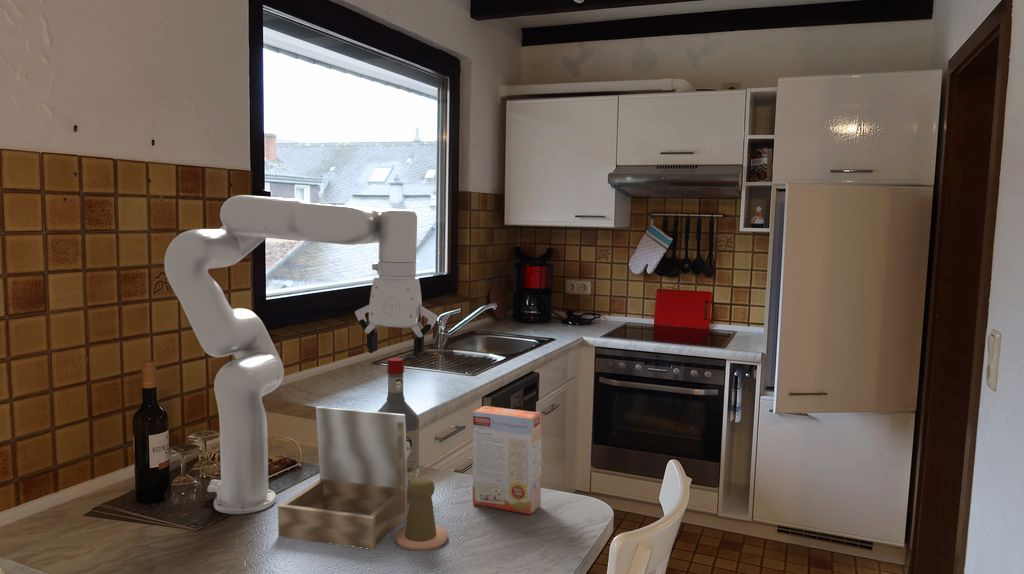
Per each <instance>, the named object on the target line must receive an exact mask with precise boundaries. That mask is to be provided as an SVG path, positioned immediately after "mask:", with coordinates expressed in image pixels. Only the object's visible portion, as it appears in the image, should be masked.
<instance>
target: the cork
mask: <svg viewBox="0 0 1024 574" xmlns="http://www.w3.org/2000/svg"><path fill="white" fill-rule="evenodd" d="M407 491H408V493H407V496H409V502H408V508H407V517H406V525H405V526H406V531H405V537H406V538H407V539H408V540H411V541H416V542H422V541H428V540H431V539H433V538H434V537H436V526H435V525H436V520H435V513H434V505H433V504H434V503H433V497H432V496H433V495H434V493H435V483H434V481H433V480H432V479H431V478H428V477H422V476H421V477H420V476H419V477H418V478H414V479H412V480H410V482H409V483H408V486H407Z"/></svg>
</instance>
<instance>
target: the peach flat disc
mask: <svg viewBox="0 0 1024 574" xmlns="http://www.w3.org/2000/svg"><path fill="white" fill-rule="evenodd" d="M435 526H436V537H434V538H433V539H431V540H428V541H422V542H416V541H411V540H408V539H407V538H406V537H405V531H406V525H405V526H404V527H402V528H399V529H398V530H397V531H396V533H395V543H396V545H397V546H398V547H400V548H401V549H404V550H408V551H414V552H417V551H418V552H422V551H423V552H425V551H431V550H435V549H438V548H440V547H442V546H444V545H445V544H446V543H447V542H448V540H449V536H448V535H449V533H448V530H447V529H446V528H445V527H444V526H442V525H438V524H435Z"/></svg>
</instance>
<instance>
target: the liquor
mask: <svg viewBox="0 0 1024 574" xmlns="http://www.w3.org/2000/svg"><path fill="white" fill-rule="evenodd" d="M386 362H387V365H386V366H387V367H386V368H387V370H386V371H387V397H386V402H384V404H383V405H382V406H381V407H380V408H379V409H378V410H377V412H384V413H395V414H405V424H406V450H407V476H408V483H409V482H410V480H412V479H414V478H418V477H420V419H419V417H418V414H417V413H416V412H415V410H413V409H412V407H411V406H410V405H409V404H408V403H407V401H405V399H406V398H405V395H404V373H405V361H404V358H402V357H390V358H388V359H387V360H386ZM407 494H408V491H407Z"/></svg>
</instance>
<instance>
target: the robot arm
mask: <svg viewBox="0 0 1024 574" xmlns="http://www.w3.org/2000/svg"><path fill="white" fill-rule="evenodd" d="M219 218H220V221H221V223H222V226H221V227H219V228H195V229H190V230H186V231H184V232H180V234H178V235H177V236H175V238H173V239H172V241H171V242H170V243H169V245H168V247H167V249H166V251H165V255H164V261H163V262H164V263H163V264H164V266H163V267H164V272H165V276H166V279H167V281H168V283H169V285H170V287H171V289H172V290H173V293H174V294H175V296H176V298H177V300H178V301H179V302H180V305H181V306H182V309H183V311H184V313H185V315H186V318H187V319H188V322H189V323H190V326H191V328H192V330H193V332H194V334H195V336H196V338H197V340H198V343H199V344H200V346H201V349H203V352H205V353H206V354H207V355H209V356H211V357H213V358H223V357H227V356H231V355H233V356H234V358H235V359H232V360H231V361H229V362H227V363H226V364H223V366H222V367H221V368H220V369H219V370H218V371H217V373H216V375H215V377H214V381H213V391H214V395H215V399H216V401H215V402H216V404H217V409H218V419H219V423H218V424H219V443H220V444H219V447H220V448H219V450H220V451H219V452H220V479H211V480H210V482H209V485H208V486H207V489H206V491H207V492H209V493H216V498H215V499H214V501H213V507H214V510H215V511H217V512H219V513H223V514H226V513H227V514H228V515H246V514H251V513H256V512H259V511H260V512H261V511H263V510H266V509H268V508H269V507H271V506H273V505H274V504H275V503H276V501H277V494H276V492H275V491H273V490H271V489H269V455H268V454H269V453H268V451H269V449H268V421H267V414H266V410H265V407H264V404H263V398H262V397H264V396H266V395H267V394H270V393H271V392H273V391H275V390H276V389H277V388H279V387H280V386H281V384H282V382H283V380H284V376H285V371H284V369H285V367H284V365H283V362H282V359H281V357H280V355H279V352H278V351H277V349H276V347H275V343H273V340H272V339H271V336H270V334H269V332H268V330H267V328H266V326H265V324H264V322H263V320H261V318H260V317H259V316H258V315H257V314H256V313H255V312H253V311H252V310H250V309H248V308H243V307H236V308H232V307H231V305H230V303H229V302H228V300H227V298H226V296H225V293H224V291H223V290H222V288H221V286H220V285H219V284H218V283H217V281H215V279H214V278H213V277H212V275H210V273H209V270H210V269H219V268H226V267H230V266H233V265H235V264H237V263H238V262H240V261H241V260H242V259H244V258H245V257H246V256H247V255H249V254H250V253H251V252H252V251H253V250H254V249H256V248H257V247H258V246H259V245H260V244H262V243H263V242H264V241H265V240H266V239H277V240H278V239H279V240H288V241H295V242H296V241H297V242H301V241H304V242H314V243H322V244H323V243H324V244H335V245H347V246H355V245H365V244H375V243H378V260H377V262H375V263H372V264H371V269H372V270H373V271H376V272H377V274H378V275H377V276H373V280H372V283H371V290H370V296H369V297H370V298H369V304H367V305H365V306H363V307H361V308H359V309H357V310H355V311H354V314H355V316H356V318H357V320H358V323H359V326H360V327H361V328H362V329H363V330H364V332H365V334H366V348H367V349H368V353H369V354H373V353H375V352H377V351H378V331H377V329H378V328H379V327H387V328H388V327H389V328H400V329H401V328H402V329H403V328H404V329H410V328H411V330H412V331H413V333H414V334H415V337H414V338H413V357H414V358H415V357H416V358H418V357H420V356H421V355H422V353H424V350H425V336H426V335H427V334H428V333H429V332H430V331H431V330H432V329H434V326H435V324H436V322H437V320H438V318H439V317H438V315H437V314H435V313H434V312H432V311H430V310H429V309H427V308H426V307H424V306H423V305H422V303H423V301H422V292H421V291H422V290H421V284H420V278H419V277H416V276H417V275H416V274H417V248H418V247H417V243H418V242H417V240H418V215H417V213H416V212H415V211H413V210H411V209H401V208H400V209H399V208H397V209H396V208H386V209H379V208H375V207H370V206H369V207H368V206H360V205H359V206H358V205H357V206H353V205H349V206H348V205H338V204H335V205H334V204H321V203H313V202H306V201H304V200H303V199H299V198H287V197H286V198H285V197H274V196H264V195H263V196H261V195H250V194H247V195H246V194H240V195H239V194H238V195H234V196H231V197H229V198H228V199H226V200H225V201H224V202H223V204H222V206H221V208H220V212H219ZM366 313H368V319H367V318H366ZM422 317H425V318H426V319H427V322H426V324H425V325H424V326H423V325H422V319H423V318H422ZM227 514H226V515H227Z"/></svg>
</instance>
